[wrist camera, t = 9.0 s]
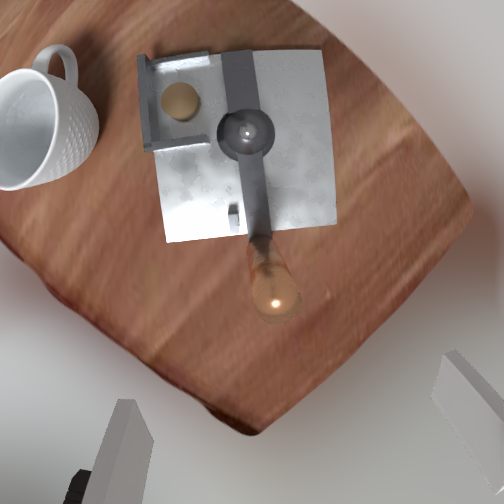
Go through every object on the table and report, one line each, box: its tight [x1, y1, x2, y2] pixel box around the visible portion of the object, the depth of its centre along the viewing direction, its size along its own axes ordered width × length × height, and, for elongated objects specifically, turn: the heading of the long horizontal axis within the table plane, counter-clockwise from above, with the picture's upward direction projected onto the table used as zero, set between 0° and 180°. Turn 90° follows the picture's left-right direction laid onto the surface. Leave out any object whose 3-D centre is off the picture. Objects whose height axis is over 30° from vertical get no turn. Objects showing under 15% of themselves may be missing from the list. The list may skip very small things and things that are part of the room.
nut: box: [161, 82, 201, 121], centre depth 28 cm, size 4×4×3 cm
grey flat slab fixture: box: [137, 50, 337, 243], centre depth 31 cm, size 20×19×6 cm
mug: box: [0, 44, 99, 190], centre depth 25 cm, size 15×11×13 cm
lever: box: [220, 49, 302, 324], centre depth 25 cm, size 22×4×14 cm, turn 7°
